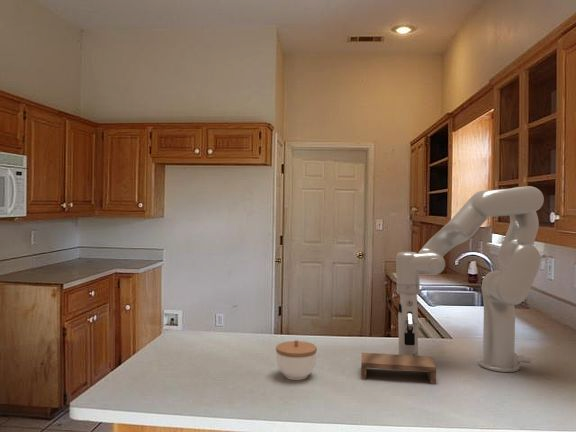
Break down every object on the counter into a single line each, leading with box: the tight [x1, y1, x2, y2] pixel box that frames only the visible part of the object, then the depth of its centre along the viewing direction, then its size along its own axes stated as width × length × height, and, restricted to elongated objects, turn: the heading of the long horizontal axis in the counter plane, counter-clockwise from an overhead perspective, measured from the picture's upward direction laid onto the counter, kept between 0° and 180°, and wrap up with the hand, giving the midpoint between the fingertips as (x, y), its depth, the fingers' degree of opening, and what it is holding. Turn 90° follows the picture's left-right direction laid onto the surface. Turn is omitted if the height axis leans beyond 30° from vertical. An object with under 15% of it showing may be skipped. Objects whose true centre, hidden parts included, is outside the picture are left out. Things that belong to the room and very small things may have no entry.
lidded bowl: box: [275, 339, 317, 381], centre depth 142 cm, size 13×13×11 cm
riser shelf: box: [360, 352, 437, 385], centre depth 143 cm, size 22×10×5 cm, turn 80°
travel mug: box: [397, 301, 419, 356], centre depth 154 cm, size 6×7×20 cm
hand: (408, 341), depth 154 cm, fingers closed on travel mug, 6 cm apart
